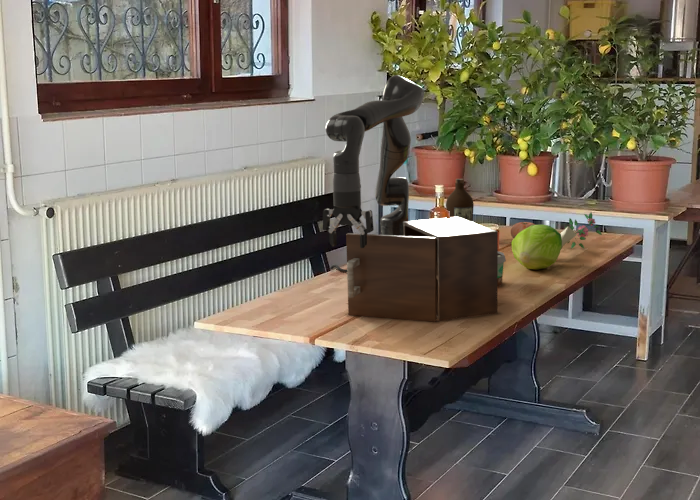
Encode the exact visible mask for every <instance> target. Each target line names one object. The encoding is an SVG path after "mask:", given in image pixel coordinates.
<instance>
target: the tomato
mask: <svg viewBox="0 0 700 500" xmlns="http://www.w3.org/2000/svg"><path fill="white" fill-rule="evenodd" d="M532 225H536V224H535V223H533V222H529V221H521V222H516V223H515V224H513V225H512V226H511V228H510V235H511V237H512V240H513V239H514V238H515V237H516V235H517V234H518V233H519V232H521V231H523V230H524V229H526V228H528V227H530V226H532Z"/></svg>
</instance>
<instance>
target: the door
mask: <svg viewBox="0 0 700 500" xmlns="http://www.w3.org/2000/svg"><path fill="white" fill-rule="evenodd" d="M360 235H361V233H353V232H347V233H346V234H345V241H346V242H345V245H346V270H347V272H346V275H347V276H346V277H347V278H346V279H347V308H348V309H347V310H348V311H347V313H348V316H359V317H370V318H371V317H372V318H384V319H395V320H396V319H397V320H398V319H399V320H409V321H422V322H433V323H434V322H435V323H436V322H437V321H438V320H437V278H436V237H419V236H397V235H381V234H375V233H374V234H373V233H367V245H366V246H365V247H364V248H360Z"/></svg>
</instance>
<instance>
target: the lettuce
mask: <svg viewBox="0 0 700 500" xmlns="http://www.w3.org/2000/svg"><path fill="white" fill-rule="evenodd" d="M560 233H561V232H559V231H558V230H557V229H556V228H554V227H552V226H551V225H549V224H542V223H541V224H535V225H532V226H530V227H528V228H526V229H524V230H523V231H521V232H519V233H518V234H517V235H516V237H515V238H514V239H513V238H512V240H511V251H512V254H513V258H514V259H515V260H516V261H517V262H518V263H519V264H520V265H522V267H524V268H526V269H527V270H535V271H537V270H542V269H543V270H544V269H547V268H550V267H551V266H552V265H554V264H555V263H556V262H557V260H558V259H559V256H560V254H561V250H562V249H563V247H562V238H561V234H560Z"/></svg>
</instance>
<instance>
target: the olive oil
mask: <svg viewBox="0 0 700 500" xmlns="http://www.w3.org/2000/svg"><path fill="white" fill-rule="evenodd" d="M464 181H465V179H464V178H455V182H454V186H455V188H454V190H453V191H452V192H451V193H450V194H449V196H447V199H446V202H445V209H446V208H447V209H448V210H449V211H450V217H460V218H463V219H465V220H468V221H471V222H474V205H475V204H474V200H473V197H472V196H471V195H470V194H469V192H467V190H466V189H465V182H464Z"/></svg>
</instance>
